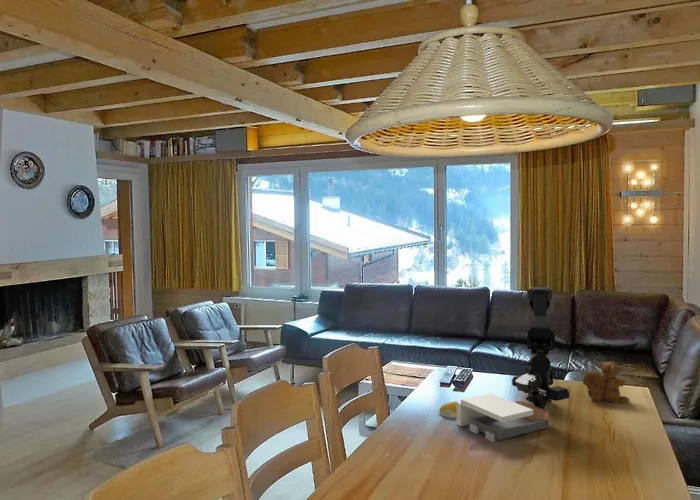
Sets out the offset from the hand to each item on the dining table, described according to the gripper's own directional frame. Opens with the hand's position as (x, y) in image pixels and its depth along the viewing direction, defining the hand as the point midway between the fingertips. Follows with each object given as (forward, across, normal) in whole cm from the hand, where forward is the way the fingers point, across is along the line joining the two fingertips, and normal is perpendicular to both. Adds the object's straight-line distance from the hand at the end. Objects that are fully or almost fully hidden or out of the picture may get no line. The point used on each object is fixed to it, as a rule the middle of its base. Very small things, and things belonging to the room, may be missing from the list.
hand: (539, 413), depth 182 cm
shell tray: (+2, 0, -13) cm, 13 cm away
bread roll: (+3, -19, -19) cm, 27 cm away
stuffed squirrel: (+3, -4, +36) cm, 36 cm away
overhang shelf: (+2, 0, -18) cm, 18 cm away
